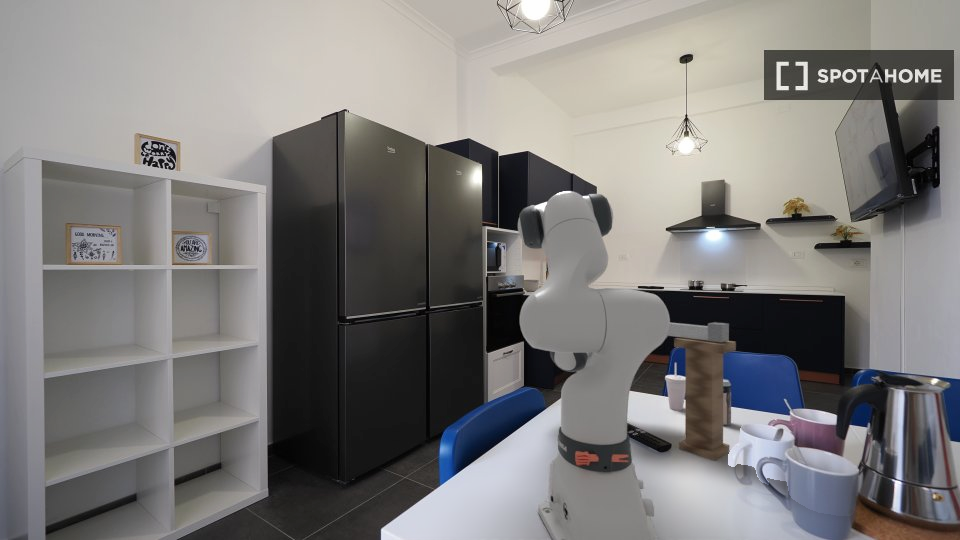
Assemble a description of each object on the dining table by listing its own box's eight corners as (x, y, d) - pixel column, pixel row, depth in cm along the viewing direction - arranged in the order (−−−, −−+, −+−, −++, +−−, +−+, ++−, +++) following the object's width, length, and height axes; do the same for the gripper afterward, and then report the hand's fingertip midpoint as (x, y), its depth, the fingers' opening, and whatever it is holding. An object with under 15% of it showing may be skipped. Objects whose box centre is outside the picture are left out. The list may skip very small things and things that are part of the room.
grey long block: (646, 333, 106) (646, 317, 106) (654, 331, 109) (654, 316, 109) (721, 342, 92) (721, 324, 92) (728, 340, 95) (728, 323, 95)
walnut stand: (672, 446, 99) (673, 338, 99) (688, 438, 104) (688, 335, 104) (722, 463, 90) (722, 345, 90) (736, 453, 95) (736, 341, 95)
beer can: (733, 426, 112) (733, 382, 112) (714, 425, 113) (714, 381, 113) (727, 420, 117) (727, 378, 117) (708, 419, 118) (708, 377, 118)
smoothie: (682, 405, 130) (683, 361, 130) (691, 412, 123) (691, 365, 123) (661, 404, 130) (662, 360, 130) (669, 411, 124) (669, 365, 124)
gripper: (593, 339, 109) (634, 317, 100) (635, 333, 122) (675, 313, 113) (603, 362, 107) (647, 341, 97) (645, 353, 119) (686, 334, 110)
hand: (662, 326), depth 105 cm, fingers closed on grey long block, 3 cm apart
